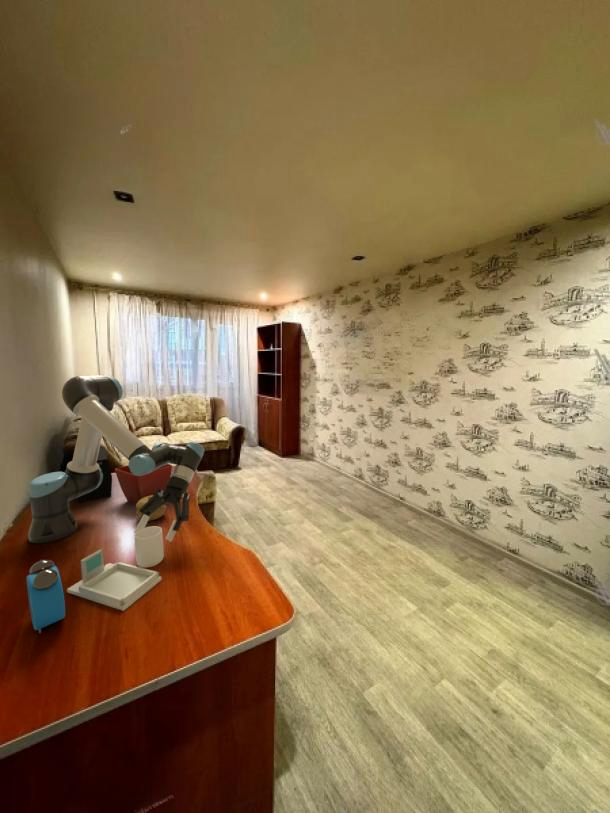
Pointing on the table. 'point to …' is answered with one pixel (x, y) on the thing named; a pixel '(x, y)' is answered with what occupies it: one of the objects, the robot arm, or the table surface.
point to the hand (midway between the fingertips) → (152, 537)
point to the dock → (113, 582)
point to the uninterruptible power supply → (106, 483)
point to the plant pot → (142, 482)
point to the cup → (149, 546)
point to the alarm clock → (45, 594)
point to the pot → (155, 514)
